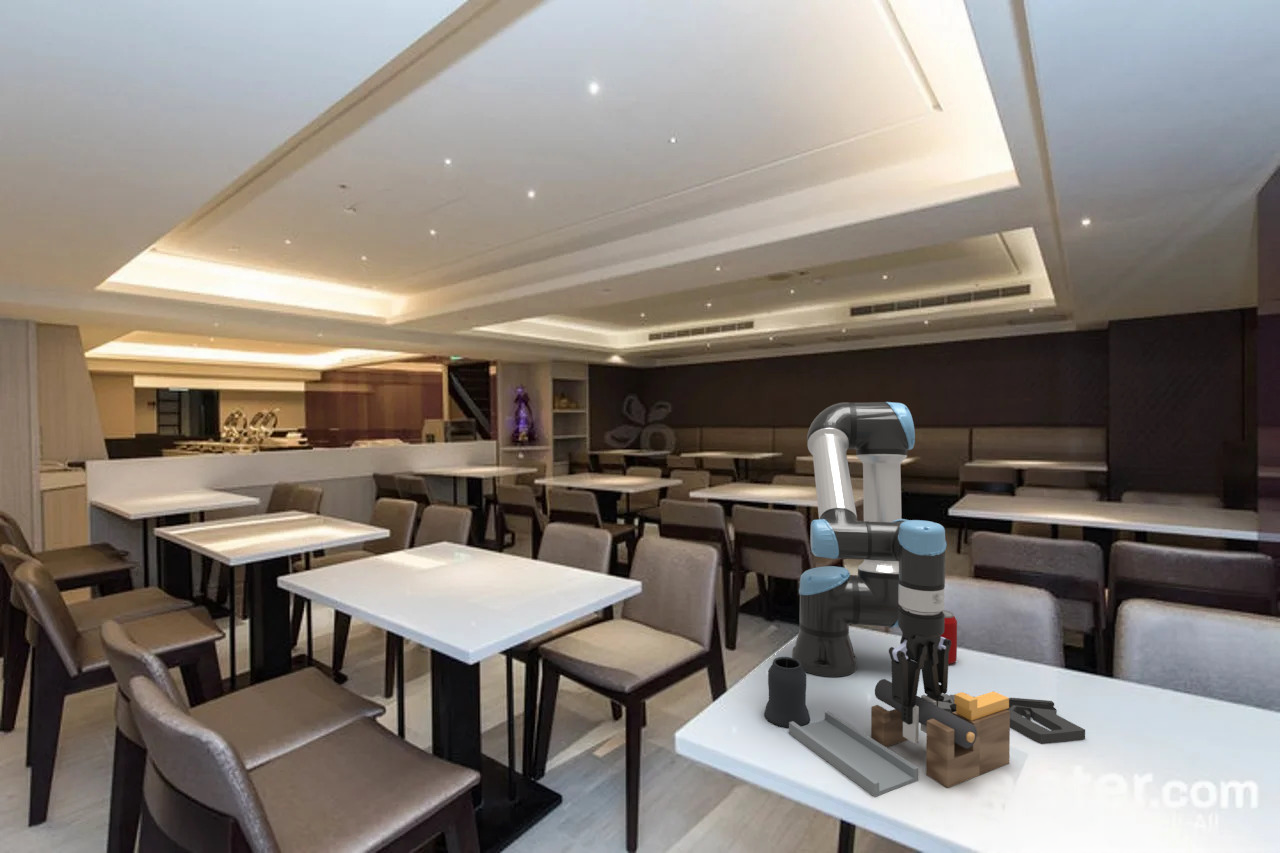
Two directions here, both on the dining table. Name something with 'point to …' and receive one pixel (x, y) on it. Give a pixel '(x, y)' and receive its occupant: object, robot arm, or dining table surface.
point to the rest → (886, 726)
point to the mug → (787, 693)
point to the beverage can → (950, 634)
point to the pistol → (1038, 712)
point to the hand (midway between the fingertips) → (919, 736)
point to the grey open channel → (856, 754)
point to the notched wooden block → (963, 764)
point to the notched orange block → (980, 704)
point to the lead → (931, 715)
